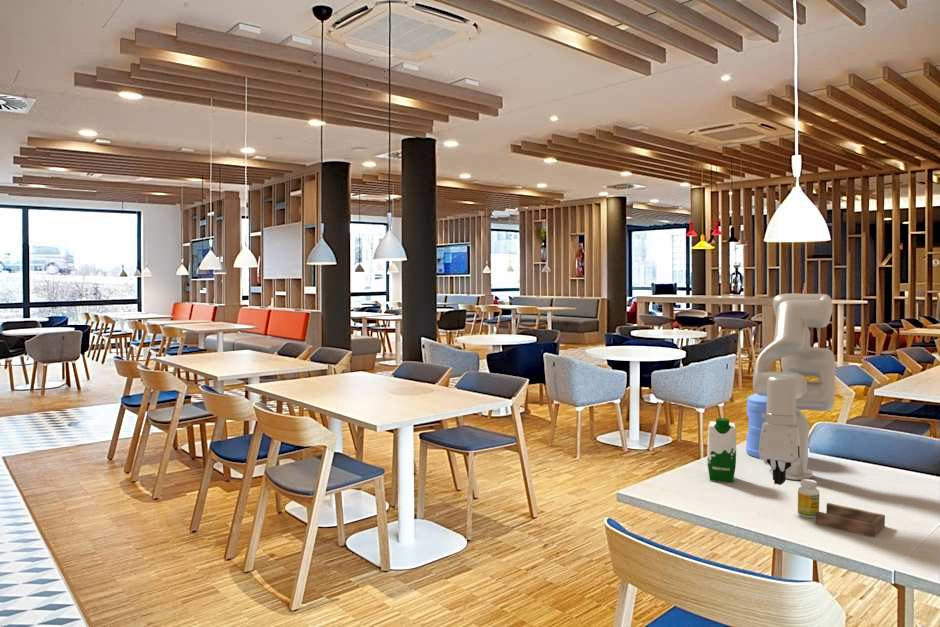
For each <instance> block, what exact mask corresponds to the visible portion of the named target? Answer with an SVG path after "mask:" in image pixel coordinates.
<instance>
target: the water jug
mask: <svg viewBox="0 0 940 627" xmlns="http://www.w3.org/2000/svg"><path fill="white" fill-rule="evenodd" d="M746 410H747V413H746V415H747V417H748V431H747V433H746V445H745V452H746V454H747V455H749V456H751V457H753V456H754V457H753V458H756V457H759V458H758V459H760V455H759V443H760V435H761V430H762V425H763V423H764V422H766V419H765V418H762V417H761V415H762V413H766V410H767V396H761V395H758V394H756V393H754V394H751V395H749V396H748V397H747V400H746ZM761 450H762V449H761Z"/></svg>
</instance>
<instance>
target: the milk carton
mask: <svg viewBox="0 0 940 627" xmlns="http://www.w3.org/2000/svg"><path fill="white" fill-rule="evenodd" d="M707 428H708V429H707V450H706V451H707V453H706V454H707V455H706V456H707V458H706V459H707V462H706V463H707V470H708V477H709V481H710V482H719V481H720V482H719V483H730V482H732V483H734V478H735V471H736V466H737V465H736V464H737V428H736V425H735V422H730V419H728V418H725V417H718V418H715V421H711V420H710V421H709V424H708V427H707ZM732 483H731V484H732Z"/></svg>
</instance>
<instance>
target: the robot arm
mask: <svg viewBox="0 0 940 627" xmlns="http://www.w3.org/2000/svg"><path fill="white" fill-rule="evenodd" d="M833 308H834V307H833V299H832V297H831V296H830V295H828V294H824V293H799V292H798V293H795V292H793V293H781V294H777V295H775V296H774V297H773V301H772V310H773V313H774V315H775V318H776V319H775V329H774V335H773V336H774V337H773V341H771V343H770V344H768V345H767V346H766V347H765V348H763V350H762V351H761V352H760V353H759V354H758V355H757V358H756V360H755V362H754V367H753V368H754V369H753V376H752V390H753V392H754V394H758V395H761V396H767V410H766V413H762V415H761V417H762V418H765V419H766V422H764V423H763V425H762V430H761V435H760V443H759V455H760V458H759V460H761V461H763V462H764V465H766V466H770V473H771V475H772V480H773V484H774V485H778V486H781V485H783V484H784V483H785V482H786V479H787V480H794V481H801V480H803V479H809V480H811V479H813V476H814V474H813V472H812V471H811V470H809V469H808V467H809V466H808V465H809V464H808V463H809V462H808V461H809V437H810V436H809V434H810V430H809V429H810V425H809V421H808V419H807V417H806V416H805V415H804V414H803V412H802V411H813V412H814V411H816V412H830V411H831V410H832V409H833V408H834V404H835V397H836V394H835V389H836V358H835V354H834V352H833V351H832V350H831V349H829V348H823V347H812V346H811V331H810V329H809V328H821V329H822V328H826V327H827V326H828V325H829V323H830V321H831V316H832V314H833V310H834V309H833ZM779 359H780V366H781V371H778V370H777V371H776V370H766V368H767V367H768V366H769V365H770V364H771V363H772V362H774V361H776V360H779ZM805 377H811V378H817V379H818V380H819V381H818V380H815V381H814V380H806V378H805ZM761 449H762V450H761ZM810 478H811V479H810Z"/></svg>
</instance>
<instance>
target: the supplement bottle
mask: <svg viewBox="0 0 940 627" xmlns="http://www.w3.org/2000/svg"><path fill="white" fill-rule="evenodd" d="M817 487H818V482H817V481H816V480H813V479H803V480H800V487H798V490H797V514H798V516H800V517H803V518H805V519H815V512H817V511H818V512H820V490H818V488H817Z"/></svg>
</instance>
